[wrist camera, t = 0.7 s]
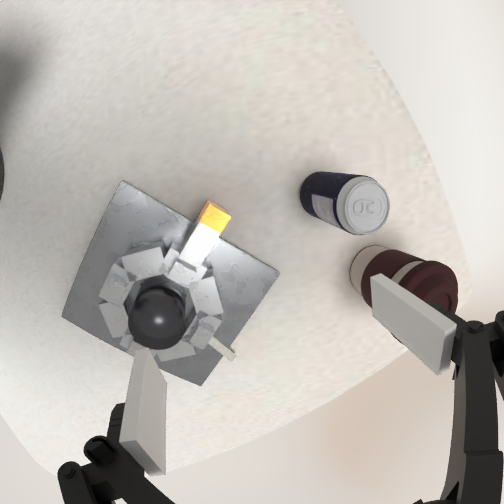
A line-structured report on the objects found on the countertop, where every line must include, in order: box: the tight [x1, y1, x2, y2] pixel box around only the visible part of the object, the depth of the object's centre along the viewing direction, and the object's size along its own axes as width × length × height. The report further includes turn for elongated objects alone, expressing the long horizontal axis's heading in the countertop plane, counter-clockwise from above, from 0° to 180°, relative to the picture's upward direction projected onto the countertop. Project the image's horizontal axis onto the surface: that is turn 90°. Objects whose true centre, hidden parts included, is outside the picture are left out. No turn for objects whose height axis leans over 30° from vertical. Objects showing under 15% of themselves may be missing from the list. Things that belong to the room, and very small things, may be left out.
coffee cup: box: [350, 245, 458, 344], centre depth 35 cm, size 10×10×15 cm
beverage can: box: [300, 172, 390, 235], centre depth 32 cm, size 6×6×12 cm
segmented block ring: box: [99, 200, 231, 362], centre depth 34 cm, size 14×20×5 cm
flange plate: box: [61, 180, 280, 386], centre depth 34 cm, size 24×23×8 cm
